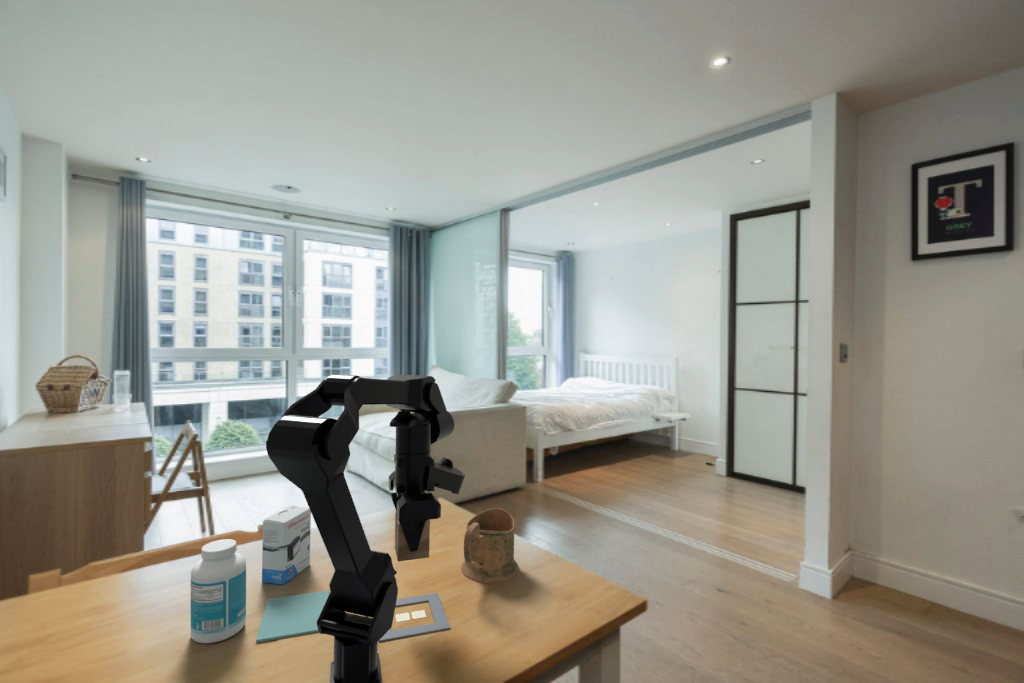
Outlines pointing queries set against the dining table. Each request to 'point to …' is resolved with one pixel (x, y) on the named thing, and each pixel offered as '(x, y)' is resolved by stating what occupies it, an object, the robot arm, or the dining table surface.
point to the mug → (490, 547)
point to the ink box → (286, 544)
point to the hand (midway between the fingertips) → (411, 544)
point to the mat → (291, 616)
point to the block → (402, 546)
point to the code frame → (437, 612)
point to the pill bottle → (218, 592)
